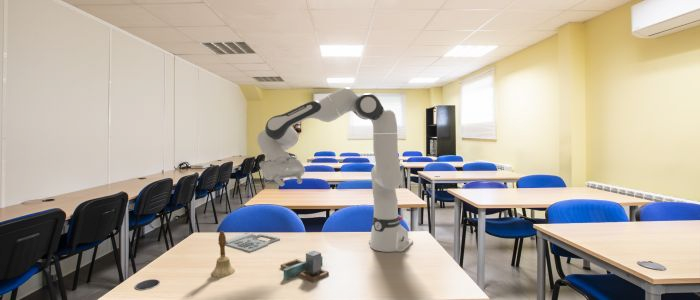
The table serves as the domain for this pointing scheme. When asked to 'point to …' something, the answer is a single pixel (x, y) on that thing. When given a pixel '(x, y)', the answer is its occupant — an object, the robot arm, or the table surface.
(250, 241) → the office telephone
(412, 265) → the table surface
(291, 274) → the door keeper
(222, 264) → the hand bell
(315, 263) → the gray block
